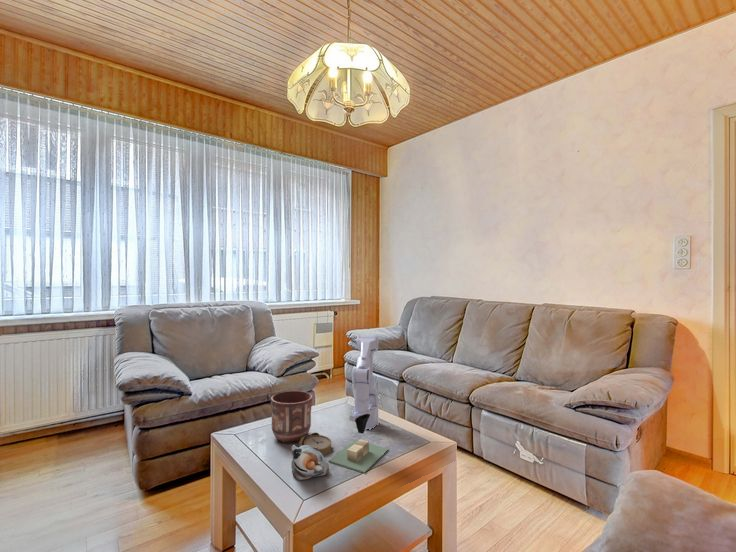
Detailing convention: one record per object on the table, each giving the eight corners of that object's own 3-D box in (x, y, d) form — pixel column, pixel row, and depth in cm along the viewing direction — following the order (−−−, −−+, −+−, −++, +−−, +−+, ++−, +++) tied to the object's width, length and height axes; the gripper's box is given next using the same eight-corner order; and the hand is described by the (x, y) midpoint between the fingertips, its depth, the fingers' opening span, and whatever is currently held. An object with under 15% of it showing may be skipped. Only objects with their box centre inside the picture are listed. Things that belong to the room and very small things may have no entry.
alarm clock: (315, 453, 140) (293, 434, 150) (314, 464, 140) (292, 445, 150) (337, 443, 148) (314, 426, 158) (335, 454, 149) (313, 436, 159)
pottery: (288, 451, 147) (289, 406, 147) (262, 438, 157) (262, 397, 157) (319, 436, 161) (320, 395, 161) (293, 425, 171) (294, 387, 171)
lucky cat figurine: (336, 469, 133) (335, 445, 126) (314, 497, 124) (312, 472, 117) (306, 448, 140) (304, 424, 133) (283, 472, 132) (279, 448, 125)
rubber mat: (355, 441, 156) (355, 439, 156) (388, 450, 148) (388, 448, 148) (328, 461, 139) (328, 460, 139) (364, 473, 131) (364, 471, 131)
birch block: (360, 439, 148) (347, 449, 139) (369, 441, 146) (356, 452, 137) (360, 448, 148) (347, 459, 139) (368, 451, 146) (356, 462, 137)
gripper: (361, 406, 136) (360, 442, 136) (378, 395, 148) (378, 428, 149) (345, 402, 139) (344, 437, 139) (363, 392, 152) (363, 424, 152)
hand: (361, 432), depth 144 cm, fingers closed
